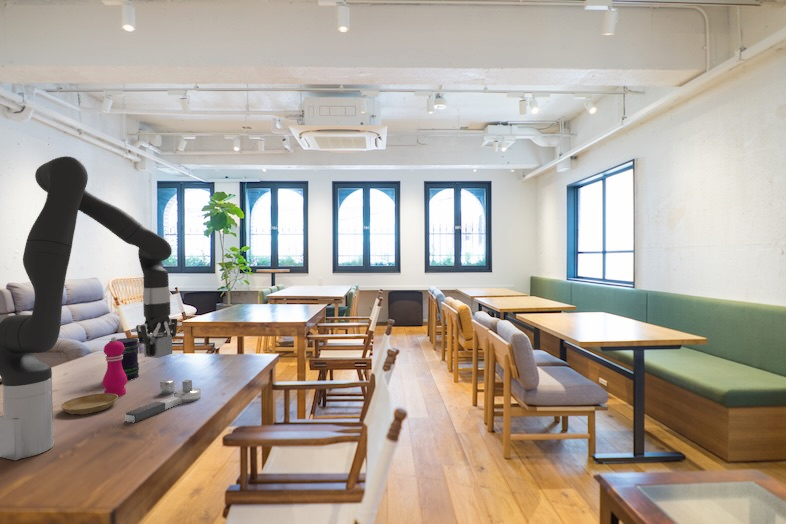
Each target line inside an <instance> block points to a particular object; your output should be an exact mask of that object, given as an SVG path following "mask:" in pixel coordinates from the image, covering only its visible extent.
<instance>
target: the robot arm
mask: <svg viewBox="0 0 786 524" xmlns="http://www.w3.org/2000/svg"><path fill="white" fill-rule="evenodd" d="M88 174H89V173H88V171H87V168H86V166H85V164H83V163H82V162H81V160H79V159H77V158H76V157H73V156H67V155H66V156H59V157H56V158H54V159H51V160H49V161H47V162H45V163H43V164H42V165H40V166H39V167H38V168H37V169H36V170H35V175H34V177H35V181H36V183H37V185H38V186H39V187H40V188H41V189H42V190H43V191H44V192H45V193H47V194H46V198H45V203H44V205H43V208H42V210H41V211H40V212H39V214H38V216H37V218H36V219H35V221H34V223H33V224H32V226H31V228H30V230H29V233H28V236H27V238H26V241H25V242H26V243H25V245H24V250H23V255H22V265H23V267H24V270H25V273H26V275H27V277H28V279H29V281H30V284H31V285H32V288H33V291H34V302H33V308H32V312H31V314H15V315H14V314H13V315H10V316H9V315H8V316H7V317H5V318H4V319H2V320H1V321H0V378H1V385H2V389H1V390H2V416H0V458H3V459H8V460H11V461H18V460H21V459H25V458H29V457H33V456H36V455H40V454H43V453H45V452H47V451H49V450H51V449H52V448H53V446H54V445H55V444H54V443H55V442H54V438H55V436H54V410H53V409H54V408H53V407H54V406H53V404H54V403H53V370H52V367H51V366H50V365H49V364H47V363H44V362H42V361H41V360H39V359H37V357H36V356H35V355H34V354H43V353H48V352H49V351H50V350H52V349H53V348H54V347H55V345H56V344H57V342H58V340H59V336H60V332H61V325H62V309H63V299H64V298H63V297H64V296H63V295H64V291H65V283H66V277H67V271H68V267H69V264H70V259H71V254H72V250H73V249H72V248H73V242H74V236H75V230H76V224H77V218H78V212H81V213H82V214H84V215H85V216H88V217H89V218H91V219H93V220H94V221H96V222H97V223H98V224H100V225H102V226H103V227H104V228H106V229H107V230H109V231H110V232H111V233H113V234H114V235H115V236H117V238H119V239H120V240H121V241H123V242H124V243H126V244H129V245H132V246H135V247H137V248H138V253H137V255H138V260H139V263H140V267H141V271H142V273H143V274H142V275H143V279H142V280H143V292H142V303H143V317H144V318H145V320H144V323H142V324H137V325H136V326H135V328H136V332H137V339H138V344H140V345H141V344H143V345H144V344H145V345H146V355H147V356H154V344H153V342H154V338H155V337H156V336H157V334H158V333H163V334H164V335H172V338H175V337H176V336H177V328H178V326H177V325H178V318H170V315H171V293H170V288H169V285H170V283H169V282H170V281H169V271H168V270H167V269H165V268H164V267H163V261H166V260H167V259H169V258H171V255H172V251H173V250H172V246H171V245H170V243H169V242H168V241H167V239H165V238H164V237H162V236H161V235H159V234H157V233H156V232H154V231H152V230H151V229H149V228H147V227H145V226H143V224H141V222H140V221H138V220H137V219H135V218H134V216H132V215H130V214H129V213H128V212H127V211H125V210H123V209H122V208H120V207H118V206H115V205H113V204H111V203H109V202H107V201H105V200H104V199H101V198H99V197H97V196H95V195H94V194H92V193H91V192H89V191H88V190H87V189H86V187H87V184H88V182H89V181H88V179H89V176H88ZM150 337H151V338H150ZM149 338H150V340H149Z"/></svg>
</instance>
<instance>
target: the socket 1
mask: <svg viewBox="0 0 786 524" xmlns="http://www.w3.org/2000/svg"><path fill="white" fill-rule="evenodd" d="M150 338H151V337H150ZM150 338H149V340H150ZM153 344H154V356H147V355H146V345H145V344H143V354H144V357H143V358H152V359H153V358H154V359H156V358H157V359H159V358H162V357H166V356H169V355H172V354H173V337H172V335H164V334H163V333H158V334H157V336H156V337H155V338H154V342H153Z"/></svg>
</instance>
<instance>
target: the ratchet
mask: <svg viewBox="0 0 786 524" xmlns="http://www.w3.org/2000/svg"><path fill="white" fill-rule="evenodd" d="M201 397H202V390H201V388H199V387H193V381H192V379H186V380H183V381H182V388H181V389H179V390H175V392H174V393H173V396H172V397H168V398H165V399H162V400H161V401H153V402H151V403H148V404H145V405H143V406H139V407H138V408H135V409H132V410H130V411H129V410H128V411H126V412H125V415H124V418H125V419H124V422H125V421H127V422H126V423H130V422H132V423H131V424H134V422H135V423H138V422H140V420H141V421H143V420H145V418H146V419H148V418H150V416H151V417H152V416H155V415H157V413H158V414H160V413H162V411H163V412H165V411H166V409H167V410H169V409H172V408H173V406H174V407H176V406H179V405H181V404H187V402H188V403H192V402H195V401H199V400H200V399H201ZM178 404H179V405H178ZM171 407H172V408H171ZM168 408H169V409H168ZM147 417H148V418H147ZM142 419H143V420H142ZM137 421H138V422H137Z"/></svg>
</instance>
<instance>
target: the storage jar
mask: <svg viewBox="0 0 786 524" xmlns="http://www.w3.org/2000/svg"><path fill="white" fill-rule="evenodd" d="M117 341H119V342H121V343H123V345H124V351H123V353H122V355H123V359H122V362H121V363H122V368H123V370H124V372H125V374H126V377H127V380H129V381H132V380H131V379H133V380H135V378H136V379H138V378H139V376H140V375H139V371H140V367H139V366H140V365H139V364H140V363H139V361H138V359H139V358H138V354H139V339H138V337H127V338H126V337H125V338H119V339H118V338H117ZM109 342H112V341H111V340H109V341H108V343H109Z"/></svg>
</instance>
